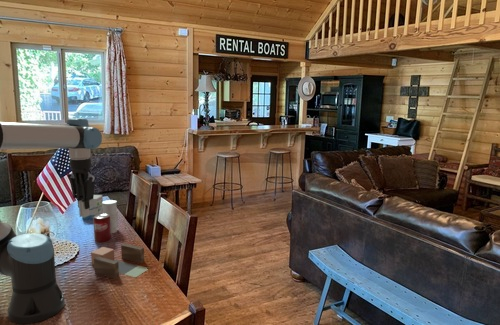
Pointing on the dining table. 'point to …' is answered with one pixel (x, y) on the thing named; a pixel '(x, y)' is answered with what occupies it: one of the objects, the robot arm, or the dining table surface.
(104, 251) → the terracotta block
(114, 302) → the dining table surface
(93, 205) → the ink box
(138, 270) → the mat
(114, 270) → the tunnel walls
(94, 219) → the soda can
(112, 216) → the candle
